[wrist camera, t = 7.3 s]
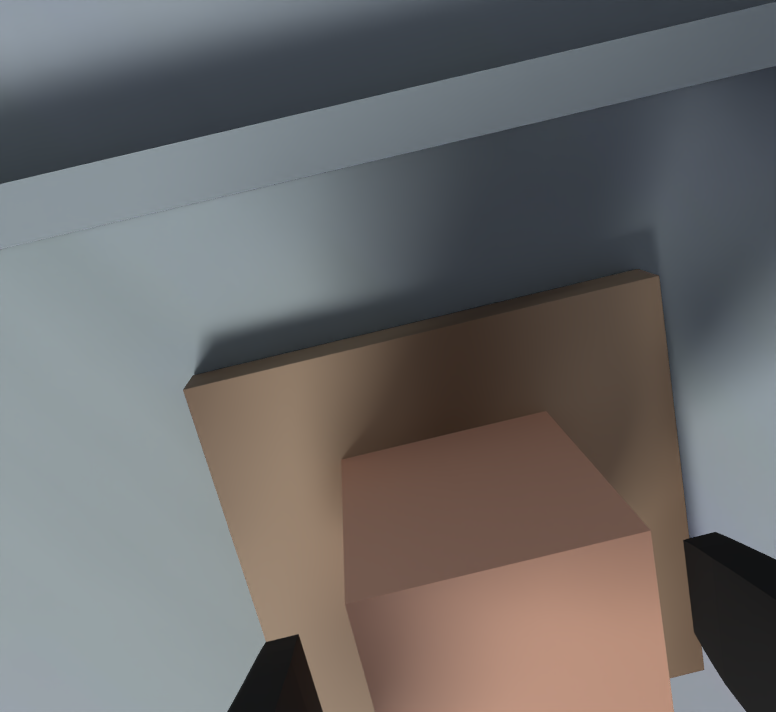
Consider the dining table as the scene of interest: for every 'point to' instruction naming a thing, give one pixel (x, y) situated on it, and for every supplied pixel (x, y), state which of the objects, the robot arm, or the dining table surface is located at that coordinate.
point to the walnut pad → (432, 419)
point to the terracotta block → (500, 577)
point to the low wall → (387, 125)
